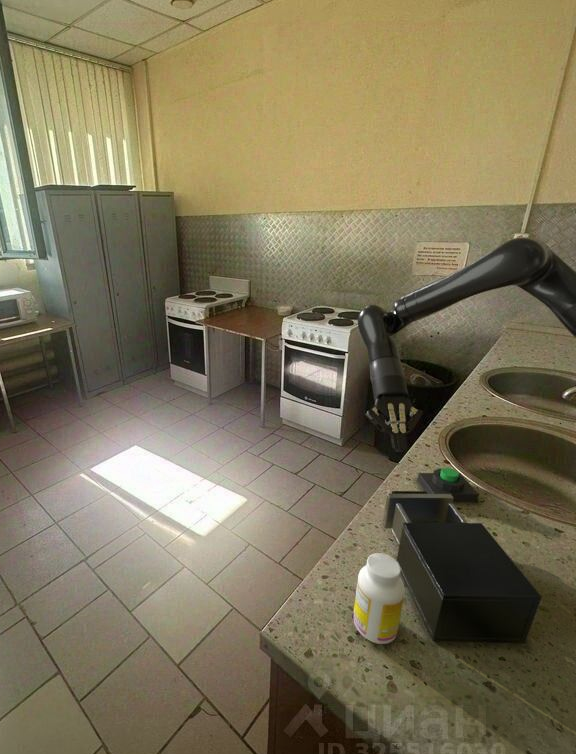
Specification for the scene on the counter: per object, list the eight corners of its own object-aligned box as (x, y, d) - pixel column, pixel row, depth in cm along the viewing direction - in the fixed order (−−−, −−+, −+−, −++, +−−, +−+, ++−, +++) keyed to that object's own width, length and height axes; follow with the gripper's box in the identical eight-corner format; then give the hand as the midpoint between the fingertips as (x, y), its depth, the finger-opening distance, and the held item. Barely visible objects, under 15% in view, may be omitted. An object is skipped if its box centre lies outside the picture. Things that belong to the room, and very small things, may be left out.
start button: (452, 473, 94) (453, 467, 94) (460, 482, 91) (462, 476, 90) (437, 473, 94) (438, 467, 94) (444, 482, 91) (445, 476, 90)
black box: (395, 563, 75) (403, 522, 71) (470, 564, 74) (481, 522, 71) (432, 641, 61) (443, 595, 57) (525, 643, 60) (542, 596, 57)
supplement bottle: (400, 619, 64) (412, 559, 60) (391, 654, 59) (404, 592, 55) (359, 599, 68) (367, 541, 63) (347, 631, 63) (355, 570, 58)
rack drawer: (375, 510, 87) (380, 480, 84) (434, 511, 86) (440, 481, 83) (409, 579, 70) (416, 545, 67) (482, 580, 70) (492, 546, 67)
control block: (458, 480, 97) (461, 466, 96) (477, 502, 90) (480, 487, 88) (417, 480, 98) (419, 466, 96) (432, 501, 90) (435, 487, 89)
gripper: (364, 373, 92) (376, 447, 85) (422, 373, 92) (438, 447, 85) (355, 385, 99) (365, 454, 92) (409, 385, 98) (423, 454, 91)
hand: (400, 450), depth 88 cm, fingers closed
